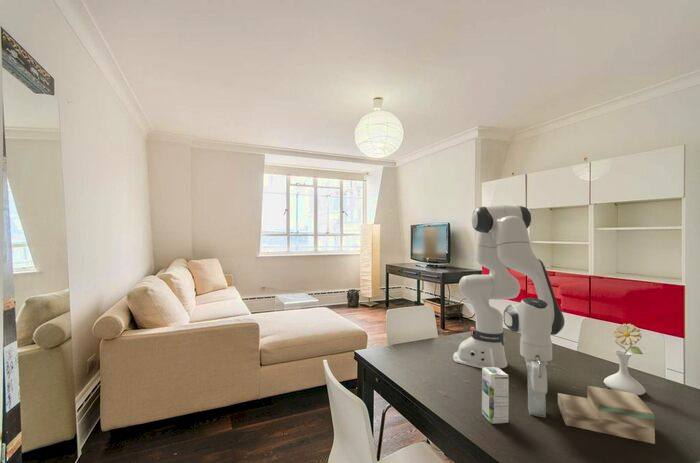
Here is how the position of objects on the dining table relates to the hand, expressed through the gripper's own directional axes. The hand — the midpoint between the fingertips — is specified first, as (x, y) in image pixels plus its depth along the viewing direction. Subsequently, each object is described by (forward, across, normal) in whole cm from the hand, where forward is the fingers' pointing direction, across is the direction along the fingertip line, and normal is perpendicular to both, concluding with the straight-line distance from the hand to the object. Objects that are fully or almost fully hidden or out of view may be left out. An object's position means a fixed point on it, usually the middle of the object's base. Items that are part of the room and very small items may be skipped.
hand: (536, 394), depth 98 cm
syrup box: (+6, -9, +12) cm, 16 cm away
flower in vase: (+6, +29, -31) cm, 43 cm away
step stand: (+6, +2, -17) cm, 18 cm away
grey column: (+6, 0, 0) cm, 6 cm away
